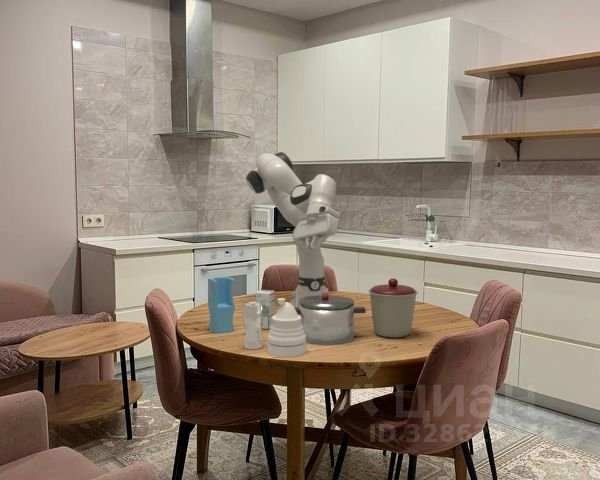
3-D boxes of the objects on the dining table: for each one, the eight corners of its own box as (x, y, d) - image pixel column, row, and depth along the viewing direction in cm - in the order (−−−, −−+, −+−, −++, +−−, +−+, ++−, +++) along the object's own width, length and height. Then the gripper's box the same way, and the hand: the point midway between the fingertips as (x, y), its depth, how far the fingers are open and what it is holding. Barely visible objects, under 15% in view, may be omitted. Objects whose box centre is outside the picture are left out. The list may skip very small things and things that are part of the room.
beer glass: (243, 344, 206) (242, 301, 205) (263, 343, 207) (263, 301, 205) (243, 349, 199) (242, 306, 198) (263, 349, 200) (263, 305, 198)
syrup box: (275, 326, 231) (274, 290, 230) (269, 330, 226) (269, 292, 224) (261, 325, 233) (261, 289, 232) (255, 328, 228) (255, 291, 226)
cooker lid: (297, 298, 224) (297, 290, 223) (349, 297, 225) (349, 289, 225) (301, 309, 204) (301, 301, 203) (358, 309, 205) (358, 300, 205)
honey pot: (275, 359, 189) (275, 303, 188) (262, 348, 201) (261, 296, 199) (312, 354, 194) (312, 300, 193) (296, 344, 206) (296, 293, 204)
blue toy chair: (215, 333, 220) (214, 280, 218) (208, 329, 227) (207, 277, 225) (235, 331, 224) (234, 279, 222) (227, 326, 231) (227, 276, 229)
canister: (365, 328, 229) (366, 274, 227) (412, 328, 228) (413, 274, 226) (369, 340, 211) (370, 282, 209) (420, 341, 211) (422, 283, 208)
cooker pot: (286, 329, 226) (286, 298, 225) (358, 328, 228) (359, 298, 227) (289, 345, 205) (289, 311, 204) (369, 344, 207) (369, 310, 206)
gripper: (294, 216, 224) (285, 249, 219) (330, 206, 209) (322, 241, 204) (306, 223, 227) (298, 256, 222) (343, 213, 212) (335, 248, 207)
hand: (310, 249), depth 213 cm, fingers closed
